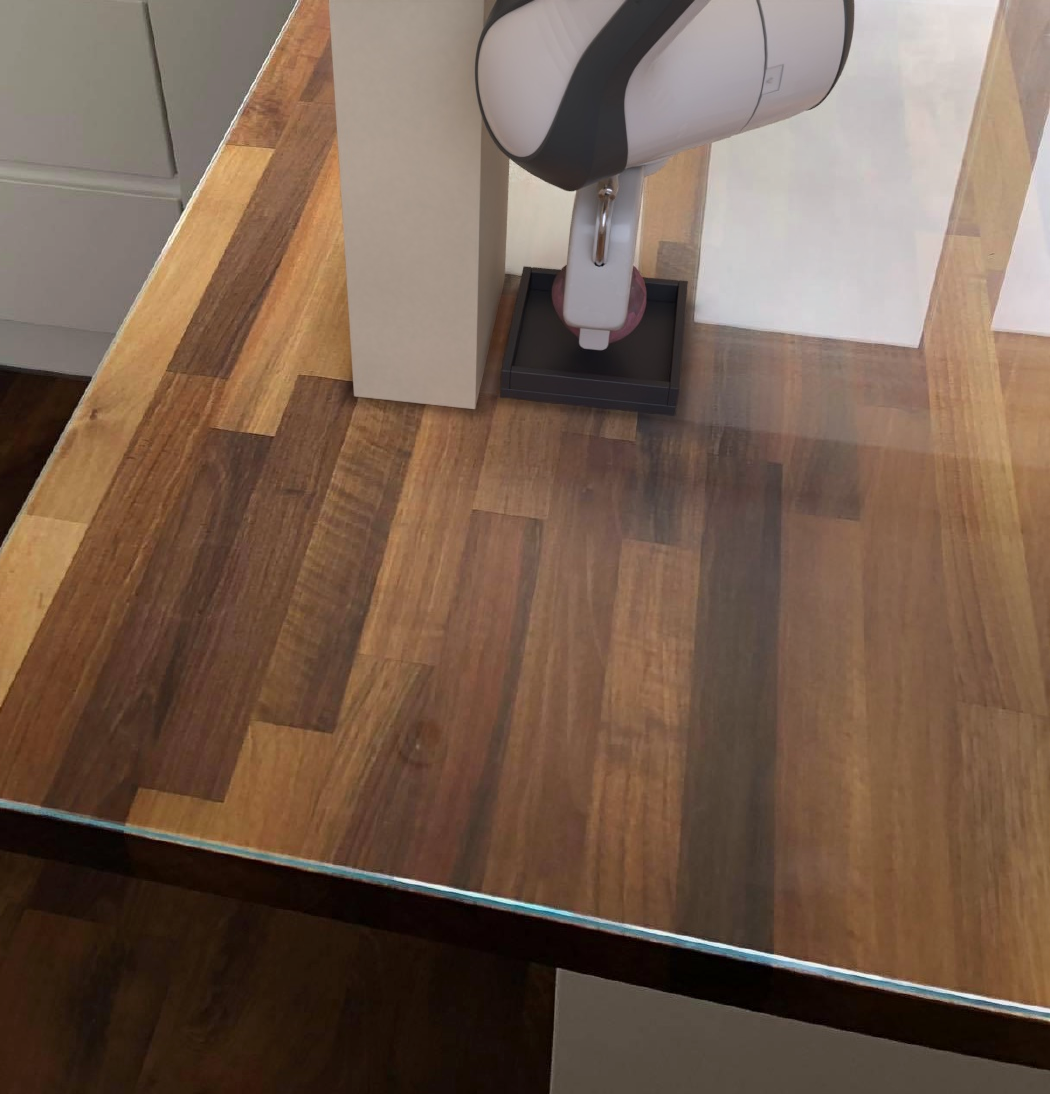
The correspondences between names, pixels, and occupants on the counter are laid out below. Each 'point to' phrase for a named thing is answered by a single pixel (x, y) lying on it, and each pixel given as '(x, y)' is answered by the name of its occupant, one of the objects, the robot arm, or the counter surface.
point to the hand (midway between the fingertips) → (600, 296)
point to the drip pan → (595, 352)
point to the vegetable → (634, 307)
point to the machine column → (417, 198)
